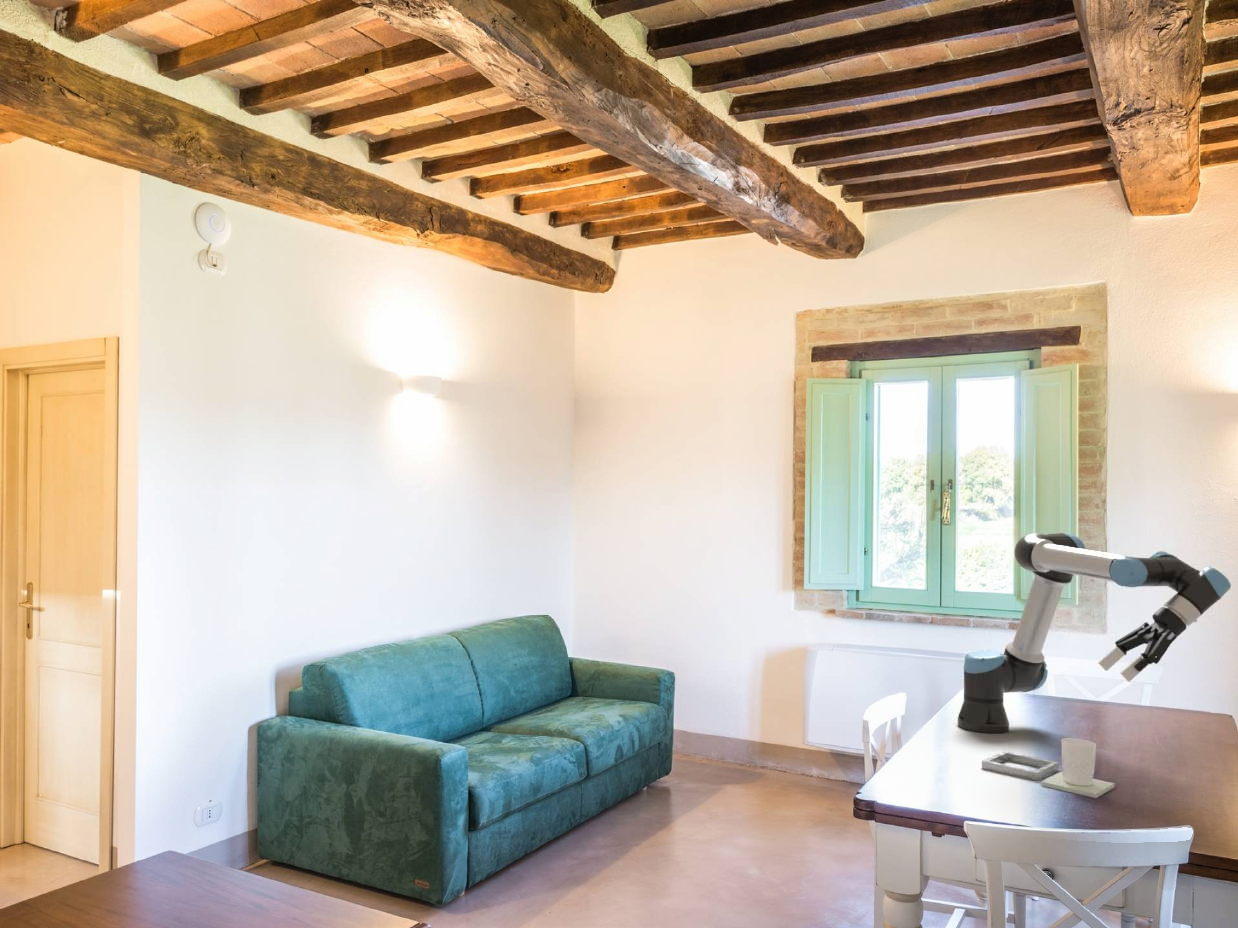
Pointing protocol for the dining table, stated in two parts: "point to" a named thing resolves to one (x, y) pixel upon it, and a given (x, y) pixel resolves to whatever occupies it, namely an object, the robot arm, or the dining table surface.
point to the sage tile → (1091, 791)
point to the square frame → (1038, 774)
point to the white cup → (1078, 761)
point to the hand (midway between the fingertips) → (1113, 672)
